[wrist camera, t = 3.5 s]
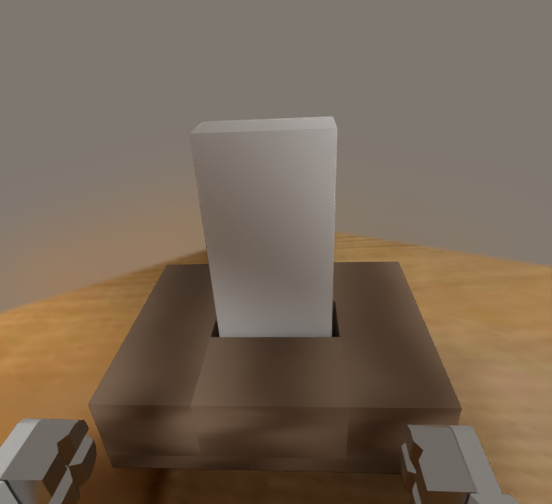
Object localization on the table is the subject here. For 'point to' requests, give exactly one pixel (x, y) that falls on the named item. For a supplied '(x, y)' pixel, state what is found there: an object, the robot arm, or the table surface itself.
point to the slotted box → (273, 382)
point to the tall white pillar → (269, 223)
